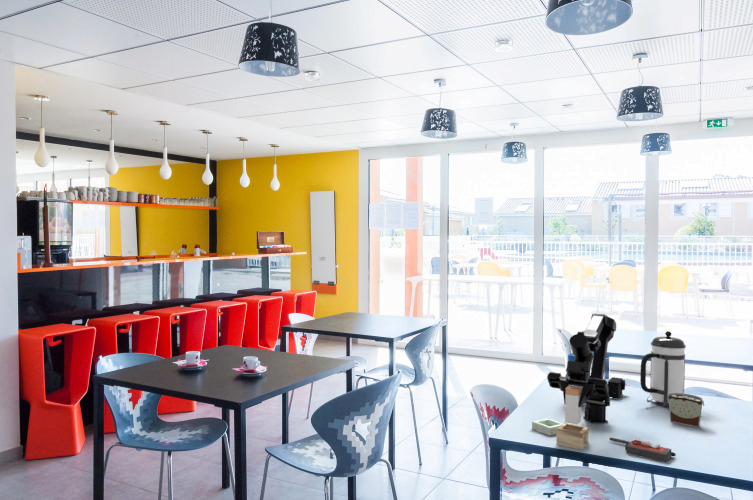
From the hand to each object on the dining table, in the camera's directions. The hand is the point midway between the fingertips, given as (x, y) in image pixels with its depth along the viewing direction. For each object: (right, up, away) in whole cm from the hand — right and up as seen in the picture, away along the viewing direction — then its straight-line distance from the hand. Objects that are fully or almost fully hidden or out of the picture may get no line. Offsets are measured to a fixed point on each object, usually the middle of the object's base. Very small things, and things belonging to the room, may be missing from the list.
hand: (572, 405), depth 183 cm
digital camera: (+41, -13, +64) cm, 77 cm away
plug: (+1, -6, +1) cm, 6 cm away
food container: (+51, -14, +27) cm, 59 cm away
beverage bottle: (+19, -13, +50) cm, 55 cm away
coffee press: (+56, -14, +52) cm, 78 cm away
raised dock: (+1, -13, +1) cm, 13 cm away
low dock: (-3, -12, +14) cm, 19 cm away
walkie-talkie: (+19, -14, -5) cm, 24 cm away
